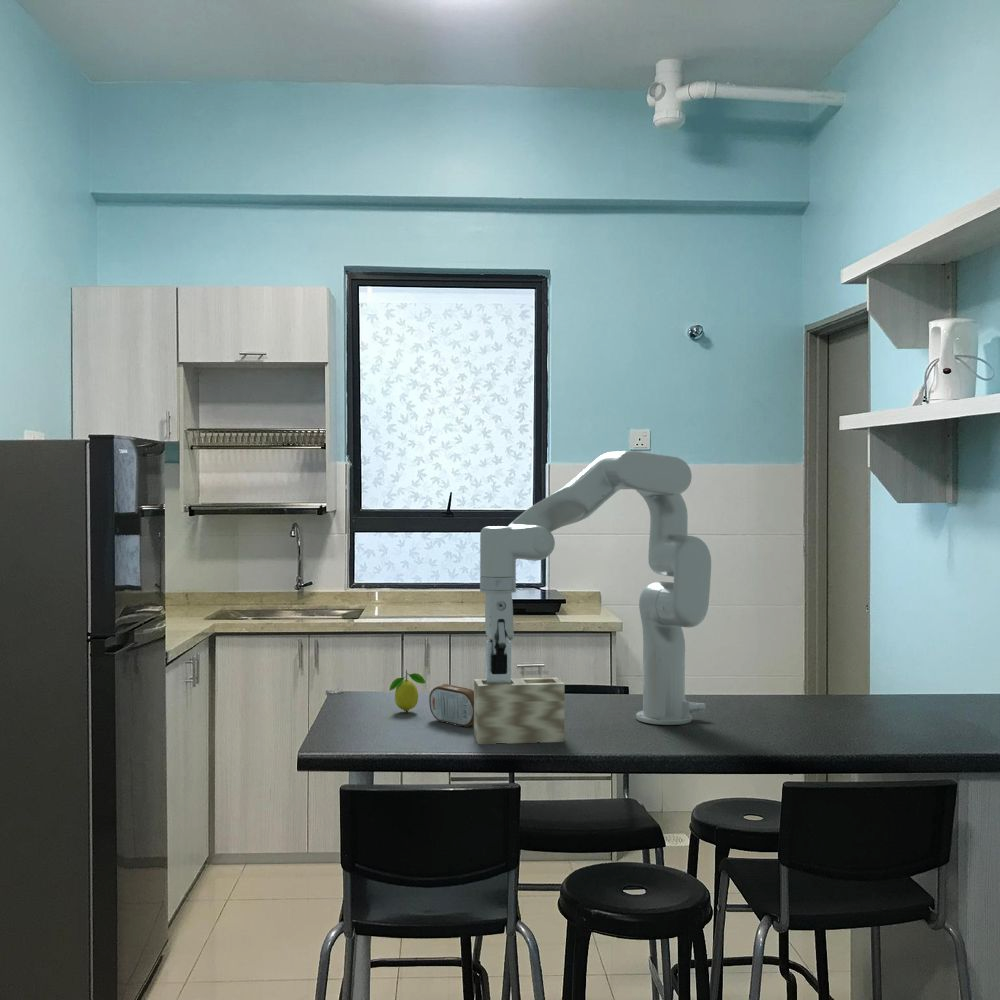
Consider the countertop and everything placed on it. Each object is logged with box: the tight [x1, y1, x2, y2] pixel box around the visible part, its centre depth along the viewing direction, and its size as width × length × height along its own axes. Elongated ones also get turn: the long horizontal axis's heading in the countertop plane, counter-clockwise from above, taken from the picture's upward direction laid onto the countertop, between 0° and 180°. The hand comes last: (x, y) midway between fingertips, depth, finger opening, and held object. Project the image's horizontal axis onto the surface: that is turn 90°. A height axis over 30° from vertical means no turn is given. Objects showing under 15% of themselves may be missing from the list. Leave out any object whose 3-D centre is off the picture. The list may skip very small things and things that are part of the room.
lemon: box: [389, 669, 426, 712], centre depth 238 cm, size 7×6×10 cm
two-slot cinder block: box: [473, 677, 565, 745], centre depth 211 cm, size 18×8×12 cm, turn 98°
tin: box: [428, 683, 474, 728], centre depth 225 cm, size 15×3×8 cm, turn 47°
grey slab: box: [484, 639, 512, 684], centre depth 210 cm, size 5×3×12 cm, turn 98°
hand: (497, 671), depth 210 cm, fingers open, 4 cm apart
